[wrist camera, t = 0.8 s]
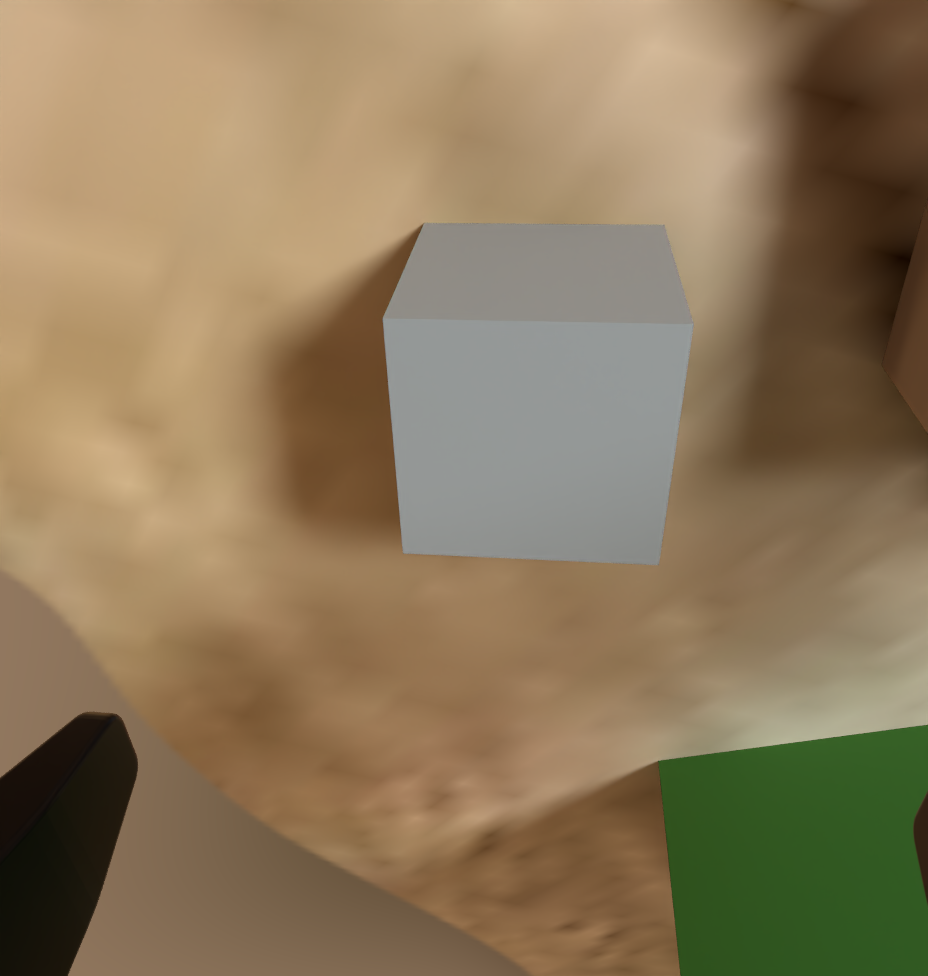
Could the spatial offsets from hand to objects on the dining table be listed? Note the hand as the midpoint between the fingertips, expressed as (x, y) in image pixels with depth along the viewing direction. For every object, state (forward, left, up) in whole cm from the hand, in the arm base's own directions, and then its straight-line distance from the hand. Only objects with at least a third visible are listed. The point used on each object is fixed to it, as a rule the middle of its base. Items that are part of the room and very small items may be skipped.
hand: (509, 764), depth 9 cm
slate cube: (0, 0, -12) cm, 12 cm away
